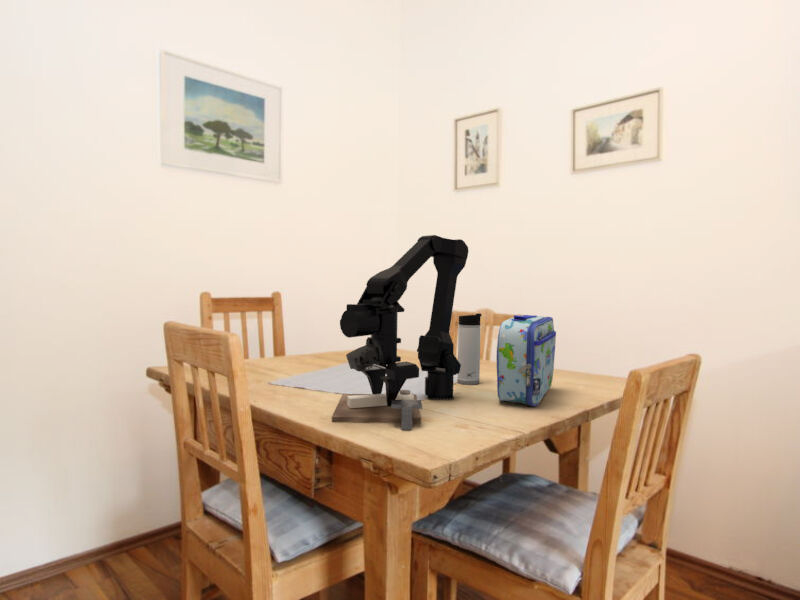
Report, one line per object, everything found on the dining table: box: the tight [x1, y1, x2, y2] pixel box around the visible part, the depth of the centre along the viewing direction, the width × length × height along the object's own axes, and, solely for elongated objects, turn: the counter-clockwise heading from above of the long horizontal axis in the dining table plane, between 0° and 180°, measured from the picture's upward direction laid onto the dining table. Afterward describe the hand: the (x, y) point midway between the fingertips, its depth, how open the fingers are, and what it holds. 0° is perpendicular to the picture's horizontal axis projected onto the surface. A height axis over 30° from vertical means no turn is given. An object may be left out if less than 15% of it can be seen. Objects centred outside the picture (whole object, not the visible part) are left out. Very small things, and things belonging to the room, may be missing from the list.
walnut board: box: [331, 389, 422, 424], centre depth 110 cm, size 18×21×4 cm
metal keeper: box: [391, 399, 423, 431], centre depth 97 cm, size 6×6×4 cm
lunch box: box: [496, 314, 557, 407], centre depth 123 cm, size 26×11×21 cm, turn 153°
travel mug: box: [456, 312, 482, 386], centre depth 140 cm, size 6×7×20 cm
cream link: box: [347, 391, 415, 408], centre depth 109 cm, size 15×4×2 cm, turn 110°
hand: (383, 403), depth 109 cm, fingers open, 5 cm apart
